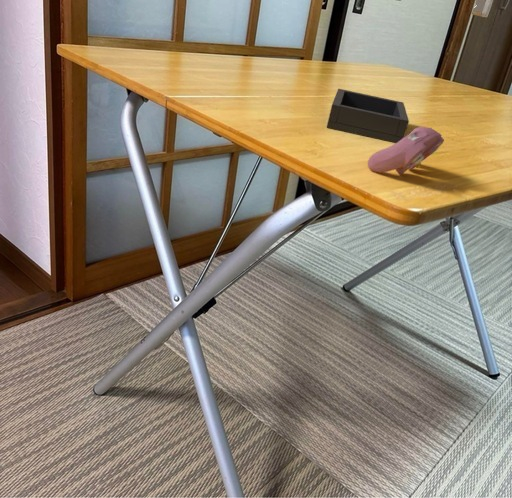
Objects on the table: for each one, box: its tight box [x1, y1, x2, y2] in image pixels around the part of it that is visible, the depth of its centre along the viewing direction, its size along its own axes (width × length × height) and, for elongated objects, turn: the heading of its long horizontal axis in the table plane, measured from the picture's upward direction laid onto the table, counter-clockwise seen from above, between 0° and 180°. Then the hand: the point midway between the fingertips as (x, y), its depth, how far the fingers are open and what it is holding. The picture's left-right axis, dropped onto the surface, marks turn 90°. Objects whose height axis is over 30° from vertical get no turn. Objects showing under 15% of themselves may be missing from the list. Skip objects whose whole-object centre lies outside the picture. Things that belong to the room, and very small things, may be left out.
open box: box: [326, 88, 410, 144], centre depth 83 cm, size 11×15×4 cm
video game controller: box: [367, 126, 445, 176], centre depth 63 cm, size 10×5×7 cm, turn 143°
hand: (434, 7), depth 56 cm, fingers open, 8 cm apart
